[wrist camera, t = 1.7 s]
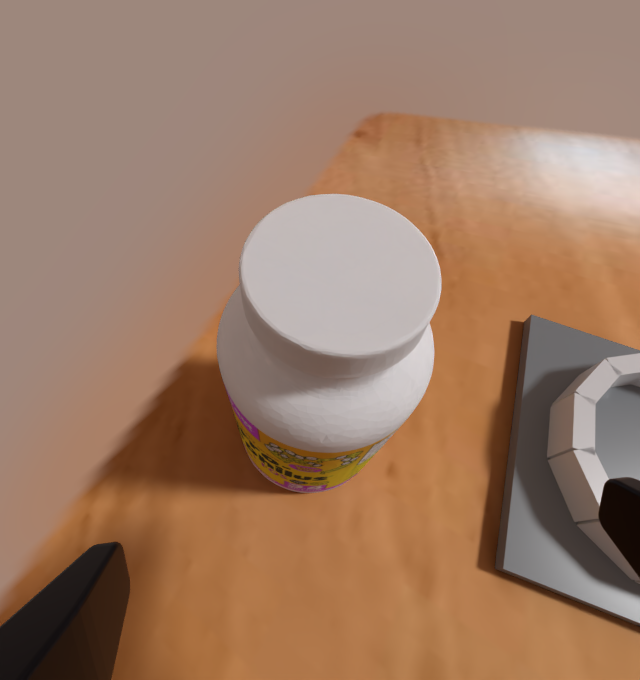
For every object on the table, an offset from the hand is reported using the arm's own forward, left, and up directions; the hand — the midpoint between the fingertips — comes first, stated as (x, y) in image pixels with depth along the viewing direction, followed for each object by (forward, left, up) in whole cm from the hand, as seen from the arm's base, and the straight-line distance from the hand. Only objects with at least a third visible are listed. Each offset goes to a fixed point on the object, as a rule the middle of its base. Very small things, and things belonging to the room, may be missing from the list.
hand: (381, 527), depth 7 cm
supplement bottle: (+5, +3, -12) cm, 13 cm away
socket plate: (+9, -14, -12) cm, 21 cm away
